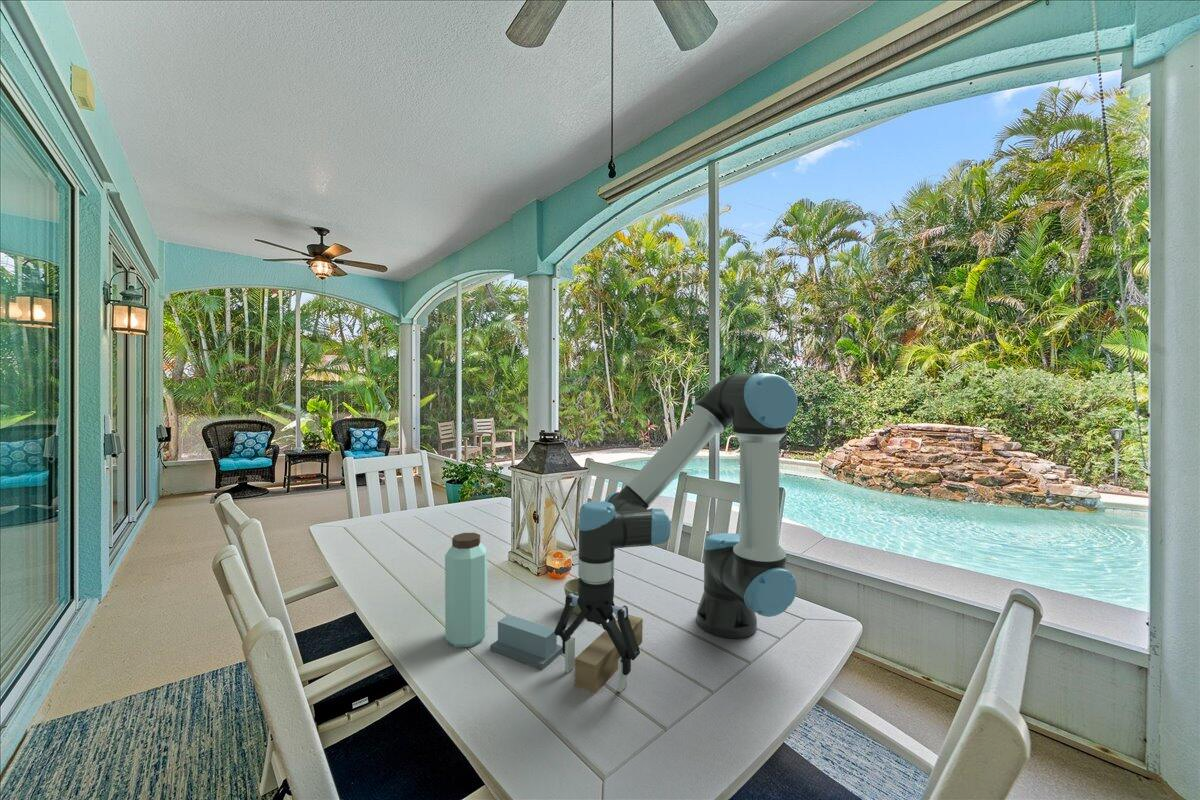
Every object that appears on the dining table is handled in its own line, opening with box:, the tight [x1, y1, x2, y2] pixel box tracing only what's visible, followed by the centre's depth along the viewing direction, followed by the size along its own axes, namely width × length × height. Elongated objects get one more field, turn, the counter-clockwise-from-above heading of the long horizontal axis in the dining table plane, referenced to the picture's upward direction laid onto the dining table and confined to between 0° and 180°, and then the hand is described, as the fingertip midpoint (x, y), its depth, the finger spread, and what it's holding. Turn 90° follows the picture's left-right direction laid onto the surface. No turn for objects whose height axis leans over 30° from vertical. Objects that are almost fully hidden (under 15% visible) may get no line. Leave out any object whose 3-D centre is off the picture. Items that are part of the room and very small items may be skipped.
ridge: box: [489, 614, 563, 671], centre depth 110 cm, size 15×8×6 cm, turn 61°
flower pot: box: [563, 577, 581, 616], centre depth 129 cm, size 10×10×7 cm
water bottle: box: [444, 532, 488, 648], centre depth 115 cm, size 10×10×25 cm
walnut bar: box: [574, 614, 643, 694], centre depth 106 cm, size 22×5×6 cm, turn 150°
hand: (595, 678), depth 100 cm, fingers open, 12 cm apart
